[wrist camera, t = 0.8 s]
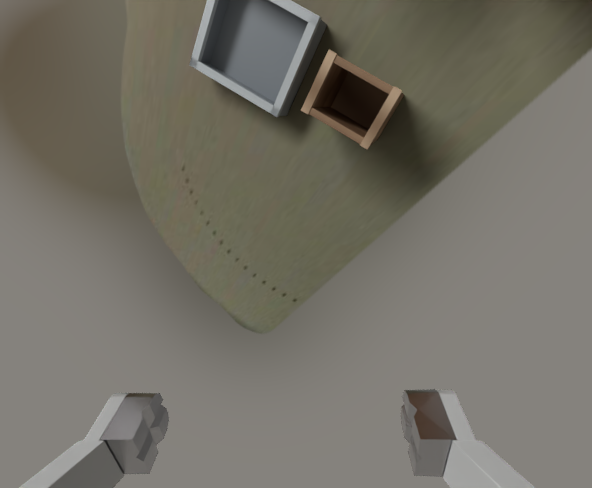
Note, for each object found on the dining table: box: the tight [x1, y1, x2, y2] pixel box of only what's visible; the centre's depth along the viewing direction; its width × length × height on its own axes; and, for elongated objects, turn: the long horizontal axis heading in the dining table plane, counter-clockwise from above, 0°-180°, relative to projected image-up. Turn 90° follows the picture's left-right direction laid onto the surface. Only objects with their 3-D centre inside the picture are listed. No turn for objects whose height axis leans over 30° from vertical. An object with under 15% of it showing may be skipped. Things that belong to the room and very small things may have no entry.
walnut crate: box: [301, 50, 404, 149], centre depth 37 cm, size 6×8×10 cm
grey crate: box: [190, 0, 327, 117], centre depth 42 cm, size 12×14×4 cm
